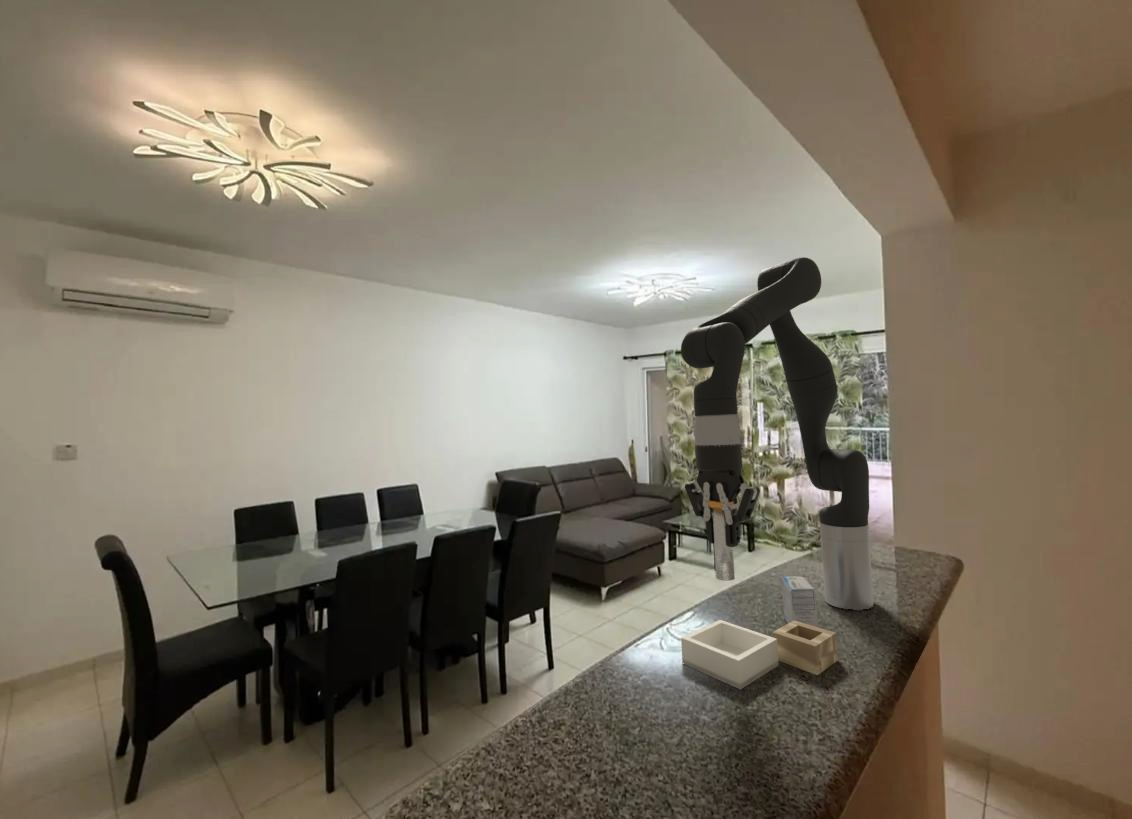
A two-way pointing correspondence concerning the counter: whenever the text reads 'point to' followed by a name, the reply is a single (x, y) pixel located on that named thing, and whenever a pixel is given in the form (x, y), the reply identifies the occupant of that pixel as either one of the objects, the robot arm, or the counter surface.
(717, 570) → the pin
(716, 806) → the counter surface
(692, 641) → the tray
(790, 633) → the pin block
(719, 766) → the counter surface
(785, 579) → the medicine box
